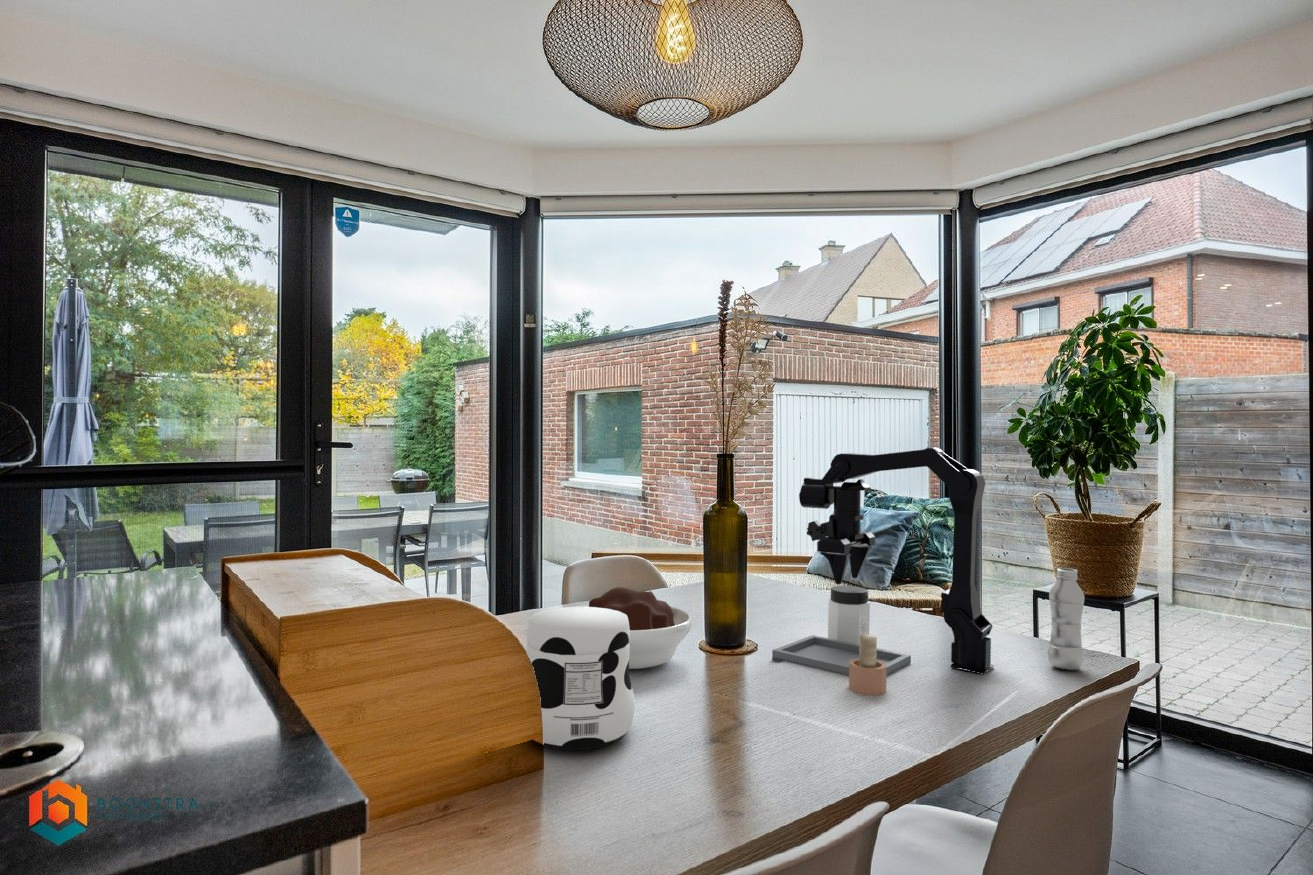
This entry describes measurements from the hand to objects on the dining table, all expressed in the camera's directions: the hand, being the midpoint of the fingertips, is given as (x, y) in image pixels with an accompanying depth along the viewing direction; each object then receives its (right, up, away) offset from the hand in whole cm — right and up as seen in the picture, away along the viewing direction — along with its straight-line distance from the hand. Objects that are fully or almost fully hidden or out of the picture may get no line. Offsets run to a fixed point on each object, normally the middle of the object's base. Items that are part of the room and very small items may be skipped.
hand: (846, 580), depth 170 cm
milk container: (-54, -14, -53) cm, 77 cm away
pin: (-4, -14, -30) cm, 34 cm away
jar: (+1, -15, +3) cm, 15 cm away
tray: (-4, -14, -13) cm, 20 cm away
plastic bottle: (+40, -15, -15) cm, 46 cm away
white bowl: (-47, -14, -15) cm, 52 cm away
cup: (-4, -14, -30) cm, 34 cm away
